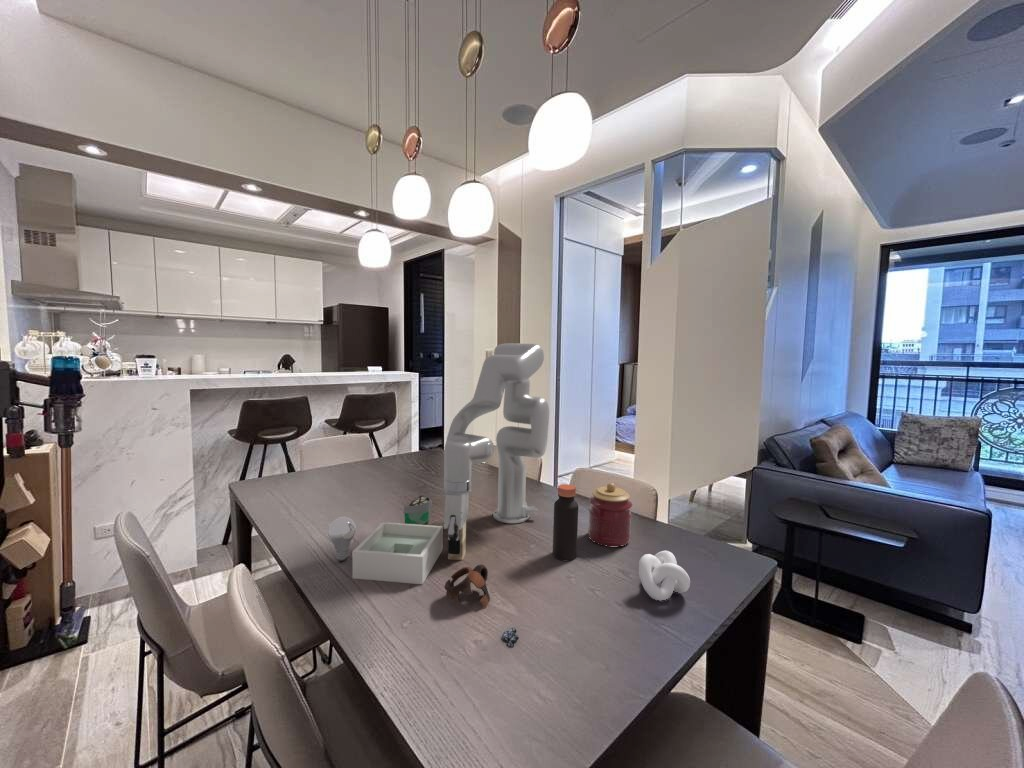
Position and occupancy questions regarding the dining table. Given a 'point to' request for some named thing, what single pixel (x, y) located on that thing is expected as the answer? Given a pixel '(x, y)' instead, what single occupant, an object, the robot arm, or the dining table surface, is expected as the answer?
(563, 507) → the bottle
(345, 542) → the light bulb
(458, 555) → the maple peg
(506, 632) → the blueberries
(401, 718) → the dining table surface
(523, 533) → the dining table surface
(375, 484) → the dining table surface
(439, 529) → the open box
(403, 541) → the bore plate
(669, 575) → the white knot sculpture
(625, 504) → the canister
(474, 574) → the brown looped sculpture
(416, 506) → the food container
